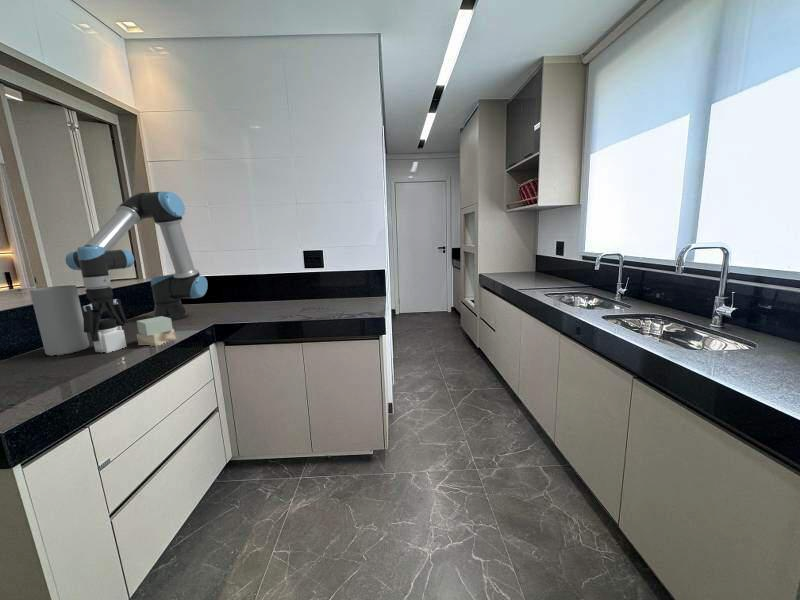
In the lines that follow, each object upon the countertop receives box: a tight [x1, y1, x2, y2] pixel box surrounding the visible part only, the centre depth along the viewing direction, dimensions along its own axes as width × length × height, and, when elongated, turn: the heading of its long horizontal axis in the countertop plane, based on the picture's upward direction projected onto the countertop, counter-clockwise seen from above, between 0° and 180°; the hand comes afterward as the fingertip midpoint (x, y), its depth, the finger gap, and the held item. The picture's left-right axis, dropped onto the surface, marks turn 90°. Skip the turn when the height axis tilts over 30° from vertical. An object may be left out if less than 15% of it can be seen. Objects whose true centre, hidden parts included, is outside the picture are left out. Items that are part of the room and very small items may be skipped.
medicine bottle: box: [93, 318, 128, 354], centre depth 132 cm, size 7×7×12 cm
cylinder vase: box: [29, 284, 90, 357], centre depth 132 cm, size 12×12×25 cm
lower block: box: [136, 328, 177, 347], centre depth 140 cm, size 9×9×5 cm
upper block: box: [136, 316, 174, 336], centre depth 139 cm, size 9×9×5 cm
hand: (110, 345), depth 133 cm, fingers closed on medicine bottle, 8 cm apart
